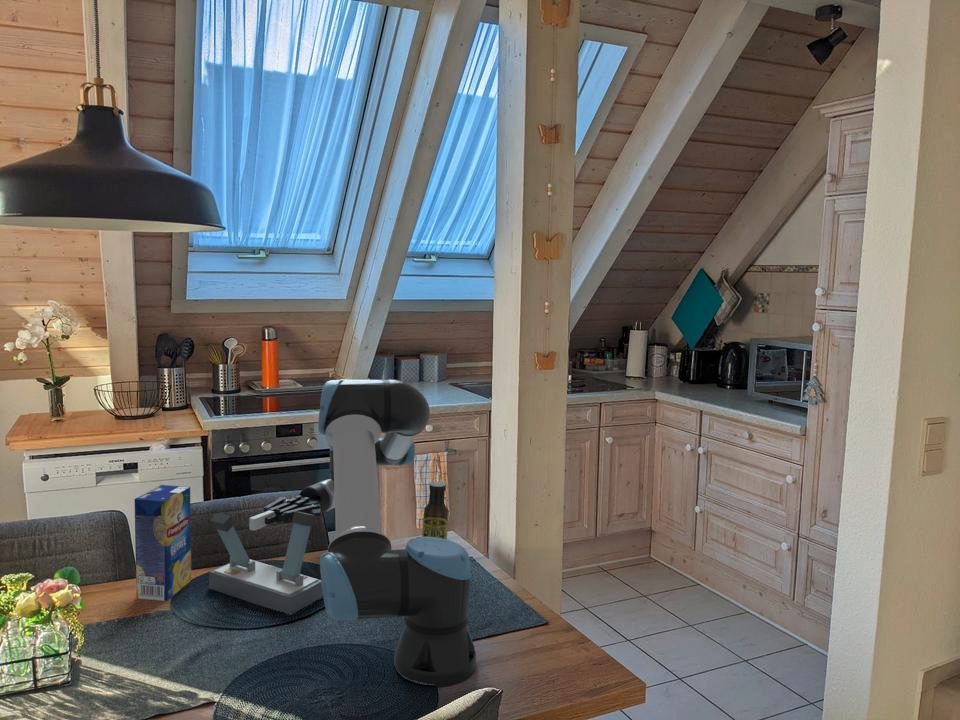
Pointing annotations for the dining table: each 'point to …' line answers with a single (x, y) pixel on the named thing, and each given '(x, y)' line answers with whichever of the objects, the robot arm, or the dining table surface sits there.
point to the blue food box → (162, 542)
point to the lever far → (230, 539)
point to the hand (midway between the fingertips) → (251, 524)
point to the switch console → (265, 586)
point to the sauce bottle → (436, 512)
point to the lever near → (297, 545)
